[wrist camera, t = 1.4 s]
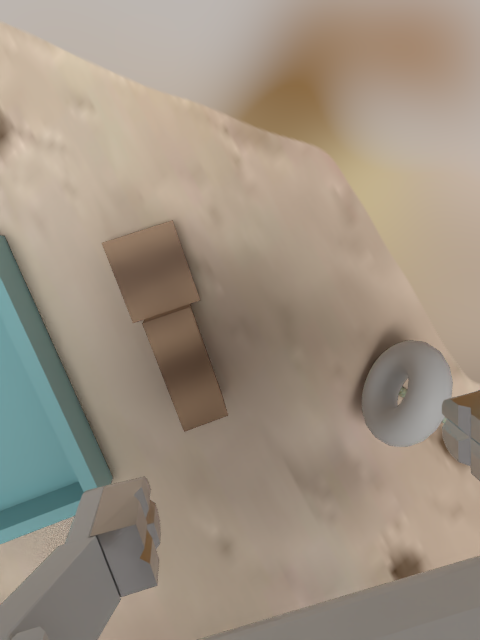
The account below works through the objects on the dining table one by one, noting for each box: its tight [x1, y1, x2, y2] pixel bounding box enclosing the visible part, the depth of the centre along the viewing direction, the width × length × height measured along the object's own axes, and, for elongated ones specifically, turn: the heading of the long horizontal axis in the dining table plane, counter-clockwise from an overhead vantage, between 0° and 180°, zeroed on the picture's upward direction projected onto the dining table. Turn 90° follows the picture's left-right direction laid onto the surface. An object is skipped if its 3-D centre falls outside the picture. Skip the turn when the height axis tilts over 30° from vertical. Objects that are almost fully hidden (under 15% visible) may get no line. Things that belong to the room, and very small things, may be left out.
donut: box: [362, 340, 453, 447], centre depth 35 cm, size 10×3×10 cm, turn 157°
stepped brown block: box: [102, 220, 228, 432], centre depth 33 cm, size 17×6×5 cm, turn 18°
